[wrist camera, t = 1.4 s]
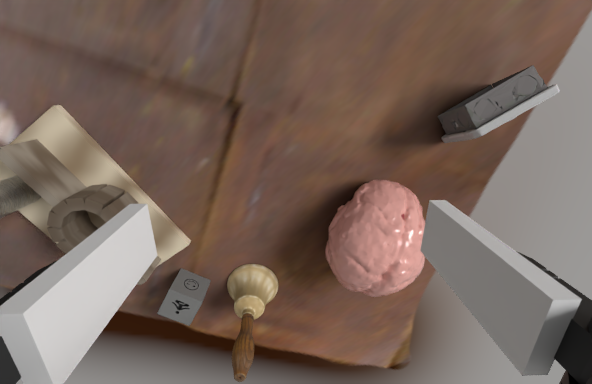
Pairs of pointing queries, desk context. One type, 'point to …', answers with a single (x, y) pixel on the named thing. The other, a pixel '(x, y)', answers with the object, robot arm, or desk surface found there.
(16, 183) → the pin
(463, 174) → the desk surface
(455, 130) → the electrical switch
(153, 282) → the desk surface
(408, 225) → the brain
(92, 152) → the hinge board
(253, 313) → the hand bell
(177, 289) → the dice cube
